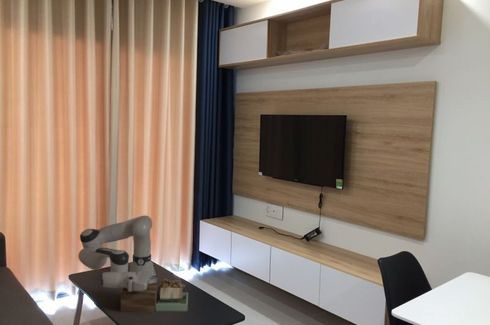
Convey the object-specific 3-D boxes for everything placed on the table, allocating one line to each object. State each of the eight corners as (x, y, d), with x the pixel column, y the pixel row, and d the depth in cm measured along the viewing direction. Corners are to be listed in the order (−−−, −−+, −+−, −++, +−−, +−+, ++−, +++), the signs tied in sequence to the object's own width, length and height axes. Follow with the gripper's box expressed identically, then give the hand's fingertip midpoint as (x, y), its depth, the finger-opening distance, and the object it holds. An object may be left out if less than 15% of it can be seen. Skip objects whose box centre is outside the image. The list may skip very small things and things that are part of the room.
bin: (158, 299, 243) (158, 292, 242) (187, 299, 245) (188, 292, 244) (155, 311, 227) (155, 304, 227) (187, 311, 229) (187, 304, 229)
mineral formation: (160, 288, 259) (185, 286, 261) (159, 301, 246) (185, 299, 248) (159, 276, 256) (184, 275, 258) (158, 288, 244) (184, 287, 246)
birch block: (161, 290, 242) (182, 290, 244) (160, 301, 239) (181, 301, 240) (160, 287, 238) (182, 287, 240) (160, 298, 235) (181, 298, 236)
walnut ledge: (125, 299, 241) (125, 282, 240) (157, 299, 243) (157, 282, 242) (120, 311, 225) (120, 293, 224) (154, 311, 227) (155, 293, 226)
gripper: (134, 278, 241) (158, 278, 242) (128, 292, 221) (154, 293, 222) (134, 267, 240) (158, 268, 242) (128, 281, 220) (155, 281, 222)
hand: (157, 280), depth 232 cm, fingers closed
